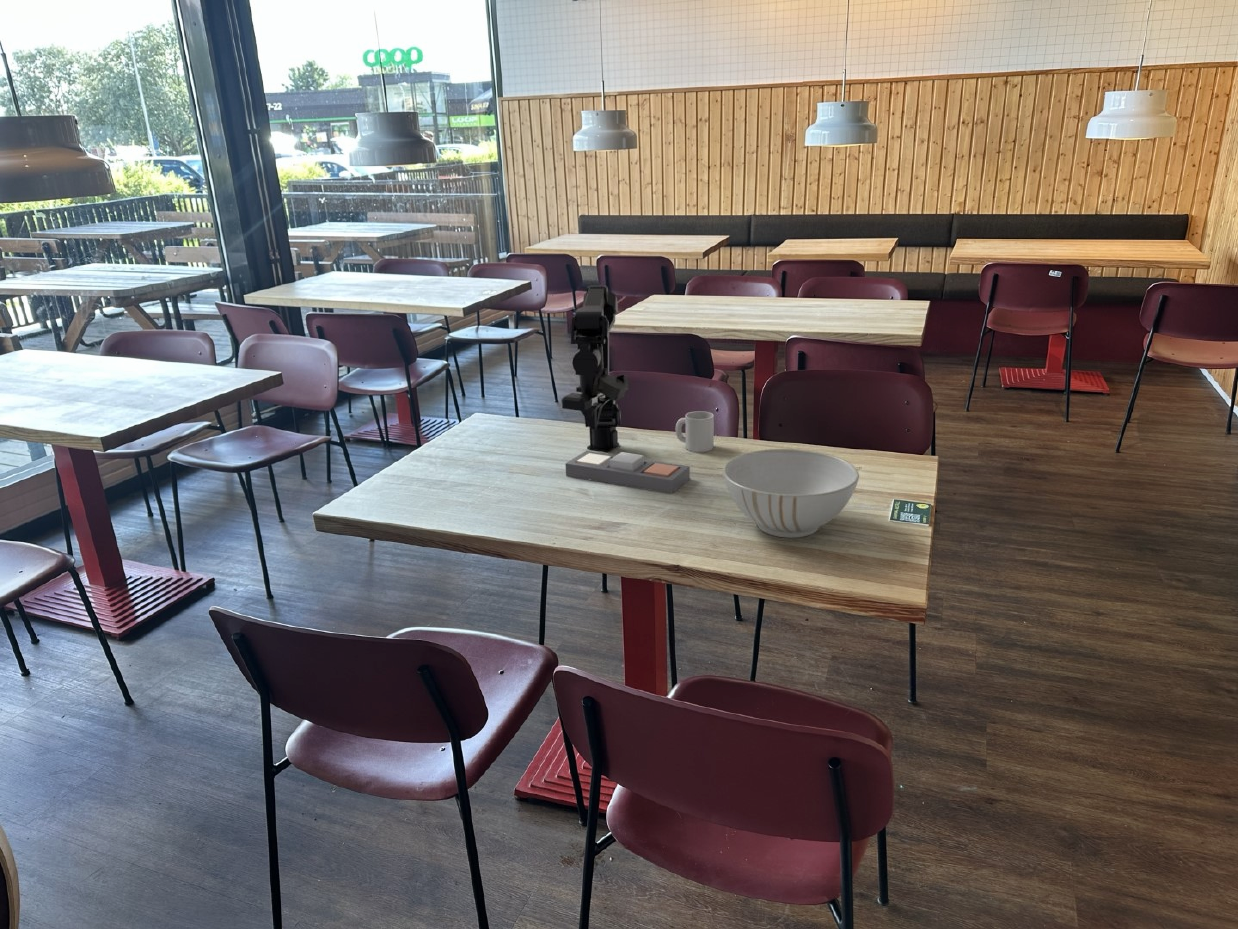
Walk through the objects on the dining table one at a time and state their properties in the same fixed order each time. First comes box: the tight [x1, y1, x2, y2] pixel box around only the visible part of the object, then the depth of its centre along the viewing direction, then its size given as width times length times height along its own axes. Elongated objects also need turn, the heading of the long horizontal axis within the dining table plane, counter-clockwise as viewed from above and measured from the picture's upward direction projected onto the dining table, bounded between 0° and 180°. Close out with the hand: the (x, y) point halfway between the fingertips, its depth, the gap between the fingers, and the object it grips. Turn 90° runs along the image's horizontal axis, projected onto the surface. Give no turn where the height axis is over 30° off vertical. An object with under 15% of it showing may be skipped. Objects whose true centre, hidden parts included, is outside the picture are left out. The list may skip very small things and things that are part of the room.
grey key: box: [609, 451, 645, 472], centre depth 207 cm, size 6×6×2 cm
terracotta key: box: [644, 463, 678, 477], centre depth 203 cm, size 6×6×2 cm
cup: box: [675, 410, 715, 453], centre depth 225 cm, size 7×10×9 cm
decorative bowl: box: [722, 448, 860, 539], centre depth 177 cm, size 27×27×12 cm
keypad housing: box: [565, 450, 691, 495], centre depth 207 cm, size 28×10×3 cm, turn 62°
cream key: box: [577, 453, 611, 466], centre depth 211 cm, size 6×6×2 cm
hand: (593, 428), depth 208 cm, fingers closed
